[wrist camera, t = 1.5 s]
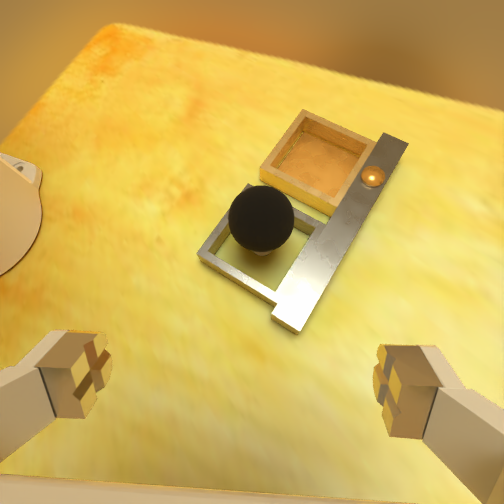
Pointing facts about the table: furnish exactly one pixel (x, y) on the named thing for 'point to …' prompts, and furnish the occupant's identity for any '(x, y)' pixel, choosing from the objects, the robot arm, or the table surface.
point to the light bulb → (261, 219)
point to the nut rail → (315, 207)
